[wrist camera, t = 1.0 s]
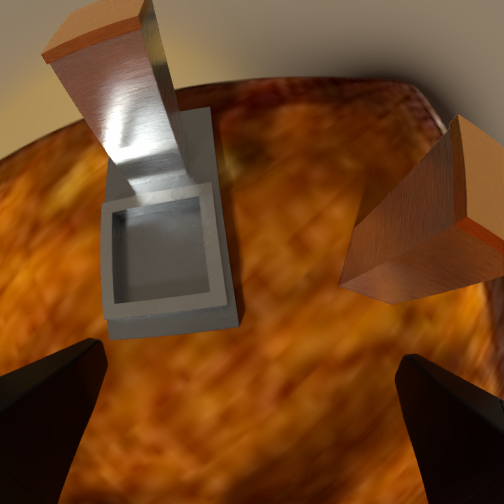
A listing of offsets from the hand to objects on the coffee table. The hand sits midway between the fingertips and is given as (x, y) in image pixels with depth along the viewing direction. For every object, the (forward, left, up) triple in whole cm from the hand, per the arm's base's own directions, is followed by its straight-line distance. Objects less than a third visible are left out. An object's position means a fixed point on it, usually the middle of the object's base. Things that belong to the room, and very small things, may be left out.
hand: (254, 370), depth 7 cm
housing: (+13, -2, -13) cm, 18 cm away
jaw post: (-3, -11, -13) cm, 18 cm away
